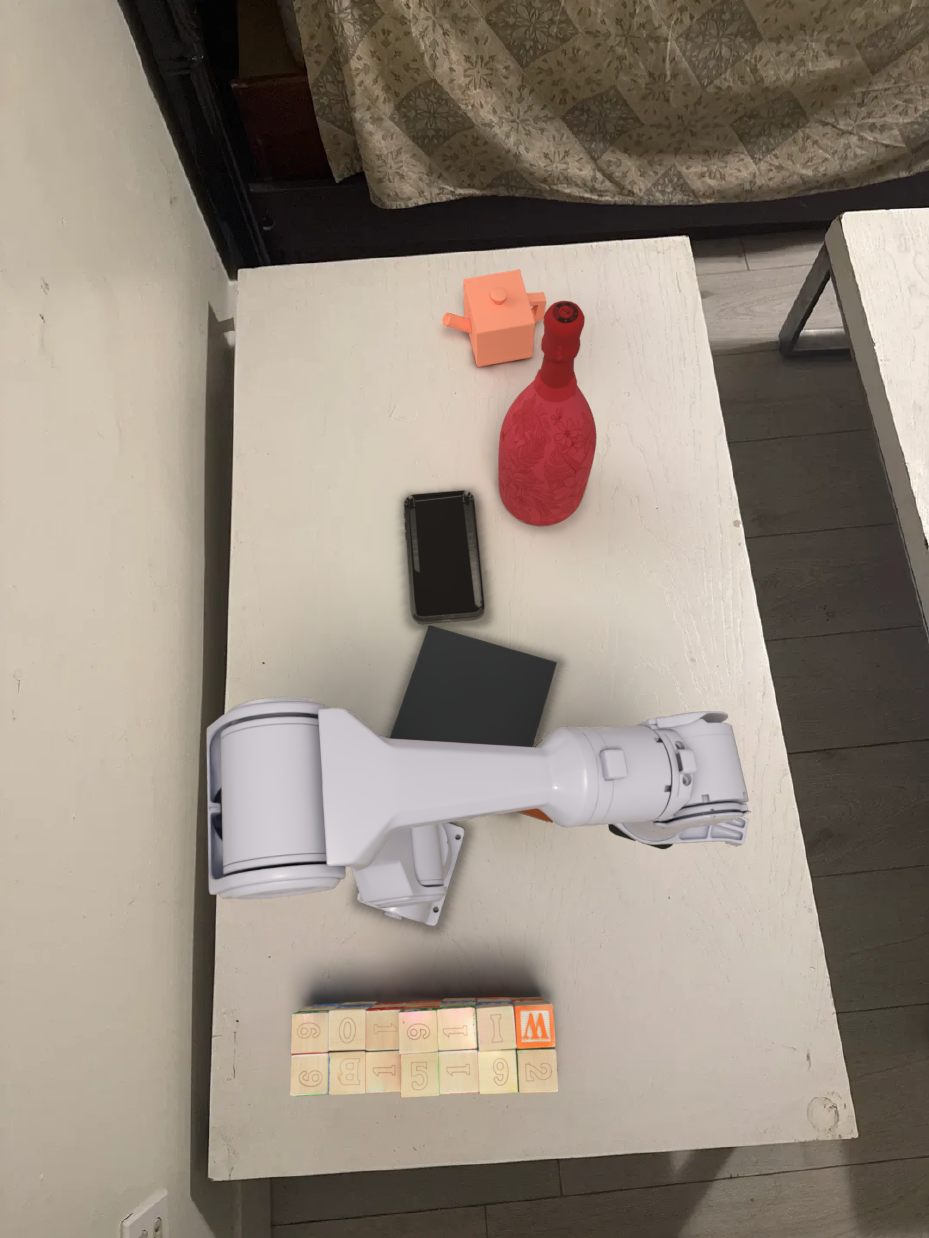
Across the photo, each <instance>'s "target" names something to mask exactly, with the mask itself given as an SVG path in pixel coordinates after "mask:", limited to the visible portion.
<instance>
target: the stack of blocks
mask: <svg viewBox="0 0 929 1238" xmlns="http://www.w3.org/2000/svg"><path fill="white" fill-rule="evenodd" d="M554 1014H555V1012H554V1005H553V1003H551V1002H550V1001H549V1000H547V999H544V997H542V996H527V997H525V996H524V997H522V996H520V997H519V996H518V997H509V996H489V997H486V996H485V997H452V998H451V997H449V998H447V997H446V998H443V999H435V1000H411V1001H394V1002H393V1001H392V1002H378V1001H376V1000H375V1001H346V1002H336V1003H312V1004H309V1005H307V1006H304V1007H301V1008H299V1009H298V1011H296V1012H293V1013H292V1014H291V1040H290V1054H291V1058H290V1059H291V1060H290V1088H289V1089H290V1090H289V1092H290V1093H289V1096H290V1097H309V1096H324V1095H325V1096H326V1095H328V1096H341V1095H344V1096H345V1095H361V1094H362V1095H363V1094H370V1095H371V1094H385V1093H386V1094H387V1093H398V1092H399V1093H400V1098H402V1099H403V1098H405V1099H406V1098H424V1097H439V1096H440V1095H441V1096H442V1095H458V1094H461V1095H462V1094H476V1093H477V1094H479V1095H497V1094H499V1095H501V1094H517V1093H519V1094H545V1093H550V1094H551V1093H558V1092H559V1080H558V1079H559V1078H558V1060H557V1050H556V1048H555V1047H556V1027H555V1015H554Z"/></svg>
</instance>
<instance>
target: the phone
mask: <svg viewBox="0 0 929 1238" xmlns="http://www.w3.org/2000/svg"><path fill="white" fill-rule="evenodd" d="M403 509H404V510H403V511H404V513H403V517H404V531H405V532H404V537H405V540H406V541H405V542H406V553H407V569H408V585H409V598H410V612H411V616H412V619H413V621H414V622H415V623H417V624H419V625H430V624H440V623H441V624H442V623H452V622H465V621H476V620H478V619H481V618H482V617H483V615H484V613H485V598H484V597H485V595H484V586H483V575H482V566H481V555H480V546H479V535H478V528H477V527H478V525H477V515H476V505H475V498H474V495H473V493H471V492H470V491H468V490H465V489H464V490H449V491H437V492H436V491H435V492H426V493H413V494H410V495H408V496H407V497H406V498H405V499H404V502H403Z"/></svg>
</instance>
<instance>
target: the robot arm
mask: <svg viewBox="0 0 929 1238" xmlns="http://www.w3.org/2000/svg"><path fill="white" fill-rule="evenodd" d="M728 718H729V714H728V713H726V712H724V711H719V710H718V711H717V710H702V711H701V710H699V711H688V712H683V713H677V714H674V715H669V716H661V717H659V716H658V717H653V718H648V719H646V720H644V721H642V722H640V723H637V724H635V725H611V726H564V727H563V726H562V727H557V728H554V729H552V730H551V731H549V732H548V733H547V735H546V736H545V737H544V738H543V739H542V740H541V741H540V743H538V745H536V747H535V746H533V747H520V746H503V745H486V744H470V743H454V742H438V741H421V740H405V739H390V737H386V736H383V735H380V734H379V733H378V732H376V731H375V729H373V728H372V727H371V726H370V725H369V724H368V723H367V722H366V721H365V720H364V719H362V718H361V717H360V716H359V715H358V714H357V713H356V712H353V711H351V710H349V709H346V708H343V707H329V706H327V705H325V704H324V703H322V702H321V701H319V700H316V699H313V698H308V697H299V696H273V697H272V696H271V697H264V698H256V699H251V700H248V701H244V702H241V703H239V704H236V705H234V706H233V707H231V708H230V709H229V710H227V712H225V713H224V714H222V715H221V716H219V717H218V718H217V719H216V720H215V721H214V722H212V723H211V724H210V725H209V726H207V728H206V772H207V773H206V785H207V786H206V787H207V788H206V789H207V791H206V792H207V793H206V794H207V852H208V855H207V856H208V857H207V859H208V861H207V862H208V892H209V894H210V895H213V896H214V895H215V896H217V895H218V897H220V899H222V900H240V901H241V900H244V901H246V900H247V901H248V900H270V899H278V898H279V899H280V898H287V897H294V896H302V895H303V896H304V895H309V894H310V895H311V894H315V893H316V894H317V893H322V892H326V891H331V890H334V889H335V888H336V887H337V886H338V885H339V884H340V883H341V881H342V880H344V879H345V878H346V876H347V870H346V868H347V867H348V868H349V869H350V870H351V873H352V876H353V879H354V882H355V884H356V887H357V891H358V893H357V897H356V899H357V901H358V902H359V903H361V904H362V905H363V904H364V905H367V906H368V907H369V906H370V907H373V908H375V909H378V910H382V911H383V915H384V916H387V917H390V918H393V919H396V920H399V921H403V919H404V918H405V919H409V920H411V921H415V922H418V923H421V924H424V925H427V926H429V927H435V926H436V925H437V924H438V923H439V920H440V917H441V914H442V910H443V906H444V904H445V903H444V902H445V900H446V897H447V894H448V891H449V887H450V883H451V880H452V877H453V873H454V871H455V867H456V863H457V860H458V857H459V853H460V851H461V847H462V844H463V841H464V838H465V833H466V831H465V829H464V828H463V827H461V826H459V825H456V824H452V823H453V822H460V821H466V820H471V819H478V818H485V817H491V816H499V815H503V814H510V813H518V812H517V811H523V810H529V809H536V808H537V809H540V810H541V811H542V812H543V813H545V814H546V815H547V816H548V817H549V818H550V819H551V820H552V821H553V823H555V824H556V825H558V826H560V827H563V828H575V827H590V826H604V825H605V826H607V825H608V831H609V832H610V833H611V834H613V835H615V836H616V837H617V836H618V837H621V838H624V839H627V840H630V841H633V842H638V843H641V844H643V845H647V846H650V847H653V848H656V849H659V850H667V849H670V848H671V847H673V846H674V845H675V844H676V845H677V844H693V843H695V844H697V843H713V842H714V843H716V842H717V843H719V842H720V843H722V842H723V843H725V844H726V845H729V846H733V847H735V848H737V847H739V846H742V845H744V844H745V841H746V836H747V831H748V826H749V821H750V819H749V818H748V817H745V816H747V815H750V814H752V811H751V810H749V806H748V804H747V803H748V802H749V801H750V799H749V794H748V791H747V785H746V781H745V776H744V772H743V769H742V768H743V767H742V764H741V760H740V755H739V749H738V746H737V742H736V737H735V733H734V728H733V725H732V724H731V723H727V722H725V721H727V720H728ZM457 836H460V838H459V839H457V838H456V837H457ZM435 908H437V909H438V910H437V912H435V911H434V909H435Z"/></svg>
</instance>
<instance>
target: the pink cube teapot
mask: <svg viewBox="0 0 929 1238" xmlns="http://www.w3.org/2000/svg"><path fill="white" fill-rule="evenodd" d="M462 283H463V284H462V285H463V286H462V289H463V291H462V292H463V316H461V315H457V314H454V313H451V312H445V313H444V314H443V317H442V320H441V321H442V325H443V326H444V327H447V328H450V329H454V330H458V331H460V332H464V333H467V334H468V336H469V339H470V345H471V348H472V352H473V356H474V360H475V364H476V367H477V368H479V367H486V366H491V365H496V364H502V363H507V362H513V361H519V360H523V359H529V358H533V353H534V342H535V341H534V340H535V330H536V324H537V323H539V322H540V321H543V320H544V315H545V313H546V307H547V298H546V295H545V292H544V291H539V292H527V290H526V287H525V282H524V279H523V276H522V273H521V269H520V268H518V269H513V270H507V271H502V272H496V273H490V274H485V275H480V276H473V277H468V278H463V279H462Z"/></svg>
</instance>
